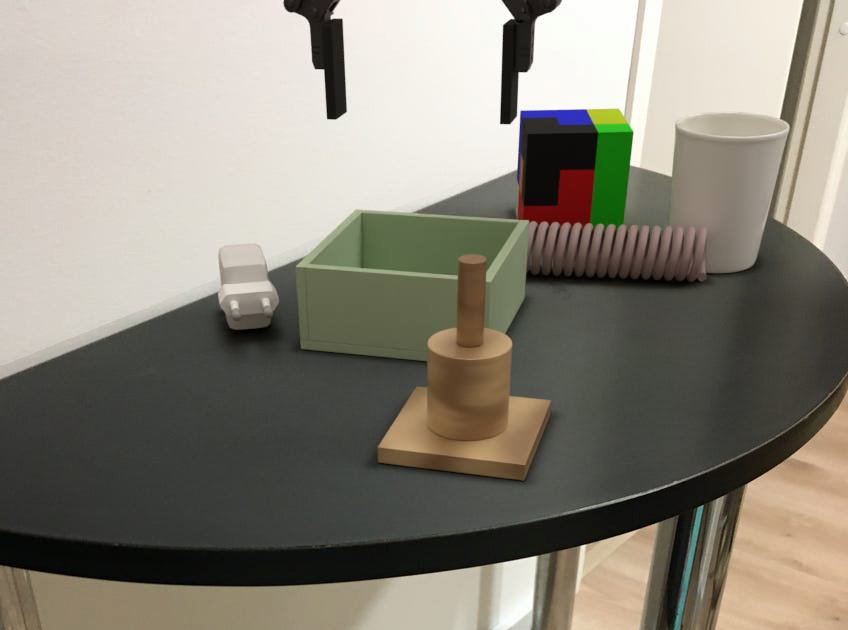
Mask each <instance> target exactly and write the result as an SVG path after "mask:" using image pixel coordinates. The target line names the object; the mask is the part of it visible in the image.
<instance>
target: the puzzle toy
mask: <svg viewBox="0 0 848 630" xmlns="http://www.w3.org/2000/svg"><path fill="white" fill-rule="evenodd" d="M519 113H520V114H519V132H518V133H519V134H518V150H517V151H518V152H517V168H516V169H517V170H516V190H515V207H514V212H515V217H516V220H529V223H530V222H532V221H535V222H536V223H537V224H538V226H539V225H540V224H541V223H542V222H547V223H548V224H549V227H550V226H551V224H552V223H554V222H558V223H559V224H560V227H562V225H563V224H564V223H566V222H567V223H570V224H571V227H572V228H573V226H574V224H576V223H580V224H581V225H582V227H583V229H584V226H585V225H586V224H588V223H591V224H592V225H593V227H594V230H595V227H596V226H597V225H598V224H603V225H604V227H605V232H606V229H607V227H608V225H610V224H614V225H615V227H616V235H617V230H618V228H619V226H620V225H622V224H623V225H625V224H624V222H625V216H626V215H625V214H626V205H627V197H628V195H627V194H628V187H629V179H630V168H631V160H632V150H633V141H634V140H633V139H634V133H635V132H634V130H633V129H632V127H631V125H630V123H629V122H628V121H627V119H626V118H625V116H624V114H623V113H622V112H621V109H620V108H583V109H581V108H580V109H576V108H575V109H538V110H537V109H536V110H535V109H532V110H531V109H529V110H520V111H519Z"/></svg>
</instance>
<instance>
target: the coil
mask: <svg viewBox="0 0 848 630" xmlns="http://www.w3.org/2000/svg"><path fill="white" fill-rule="evenodd" d="M662 230H663V233H662ZM684 231H685V230H684V228H683V227H680V226H679V227H677V229H676V231H675V235H674V241H673V229H672V227H671V226H668V225H667V226H665V228H664V229H662V227H661V226H660V225H655V226H653V228H652V230H651V227H650V226H649V225H647V224H645V225H642V226H641V228H640V229H639V226H638V225H637V224H632V225H630V227H629V229H628V226H627V225H626V224H622V225H620V226H619V228H618V230H617V235H616V227H615V225H614V224H610V225H608V227H607V229H606V232H605V227H604V225H603V224H598V225H597V226H596V227H595V230H594V227H593V225H592V224H591V223H588V224H586V225H585V226H584V229H583V227H582V225H581V224H580V223H576V224H574V226H573V228H572V227H571V224H570V223H567V222H566V223H564V224H563V225H562V227H560V224H559V223H558V222H554V223H552V224H551V226H550V227H549V224H548V223H547V222H542V223H541V224H540V225H539V226H538V224H537V223H536V222H535V221H532V222H530V223H529V233H528V250H527V266H526V275H527V273H529V270H530V272H531V274H532V275H533V276H536V275H538V274H539V273H540V269H541V273H542V274H543V276H548V275H550V273H551V269H552V274H553V276H556V277H558V276H560V275H561V274H562V270H563V275H564V276H565V277H571V276H572V274H573V271H574V275H575V277H578V278H580V277H582V276H583V275H584V273H585V276H587V278H593V277H594V275H595V273H596V276H597V277H598V278H599V279H602V278H604V277H605V276H606V275H607V277H608V278H610V279H614V278H616V277H617V276H618V277H619V278H621V279H623V280H624V279H627V277H628V276H629V277H630V278H631V279H632V280H637V279H639V277H640V276H641V278H642V280H645V281H646V280H649V279H650V278H651V277H652V279H653V280H654V281H660V280H661V279H662V278H663V279H664V280H665V281H667V282H669V281H672V280H673V279H675V280H676V281H677V282H682V281H683V280H685V279H686V280H687V281H688V282H690V283H691V282H694V281H696V279H697V280H698V281H699V282H704V281H706V280H707V273H706V268H705V263H706V244H707V233H708V230H707V228H705V227H702V228H700V230H699V233H698V238H697V244H696V249H695V238H696V229H695V228H694V227H690V228H688V230H687V234H686V239H685V245H684ZM672 242H673V246H672ZM683 247H684V250H683ZM694 253H695V254H694Z"/></svg>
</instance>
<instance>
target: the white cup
mask: <svg viewBox="0 0 848 630" xmlns="http://www.w3.org/2000/svg"><path fill="white" fill-rule="evenodd" d="M790 130H791V127H790V124H789V123H788V122H787V121H786V120H784V119H781V118H778V117H775V116H771V115H767V114H762V113H755V112H754V113H753V112H743V111H709V112H708V111H707V112H699V113H693V114H688V115H685V116H681V117H680V118H678V119H677V120H676V121H675V124H674V144H673V157H672V170H671V183H670V196H669V210H668V220H667V221H668V222H667V226H671V227H672V229H673V241H674V235H675V231H676V229H677V227H679V226H680V227H683V228H684V230H685V231H684V245H685V239H686V234H687V230H688V228H690V227H694V228H695V229H696V238H695V249H696V244H697V238H698V233H699V230H700V228H702V227H705V228H707V230H708V233H707V244H706V263H705V268H706V274H731V273H737V272H742V271H745V270H748V269H750V268H752V267H753V266H754V265H755V263H756V261H757V259H758V255H759V252H760V248H761V245H762V240H763V237H764V232H765V229H766V228H765V227H766V223H767V219H768V215H769V211H770V208H771V204H772V199H773V196H774V191H775V187H776V183H777V179H778V174H779V171H780V167H781V163H782V158H783V155H784V150H785V146H786V142H787V138H788V135H789V133H790ZM672 246H673V242H672ZM683 250H684V247H683ZM694 254H695V253H694Z"/></svg>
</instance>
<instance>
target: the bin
mask: <svg viewBox="0 0 848 630" xmlns="http://www.w3.org/2000/svg"><path fill="white" fill-rule="evenodd" d="M528 233H529V220H517V219H513V218H498V217H496V218H495V217H483V216H482V217H480V216H467V215H450V214H448V215H447V214H433V213H420V212H419V213H418V212H405V211H404V212H403V211H402V212H401V211H387V210H386V211H385V210H370V209H360V208H359V209H358V208H357V209H354V210H353V211H352V212H351V213H350V214H349V215H348V216H347V217H346V218H345V219H344V220H343V221H342V222H341V223H340V224H339V225H338V226H337V227H335V228H334V229H333V230H332V231H331V232H330V233H329V234H328V235H327V236H326V237H325V238H323V240H322V241H320V243H319V244H317V246H315V247H314V248H313V249H312V250H311V251H310V252H309V253H308V254H307V255H306V256H304V258H303V259H302V260H301V261H299V262H298V263H297V264H296V265H295V278H296V279H295V280H296V281H295V282H296V295H297V296H296V297H297V309H298V311H297V312H298V326H299V341H300V342H299V343H300V349H301V350H308V351H318V352H326V353H327V352H328V353H338V354H347V355H349V354H350V355H359V356H369V357H379V358H389V359H398V360H399V359H400V360H410V361H420V362H421V361H422V362H427V343H428V340H429V338H430V337H431V336H433V335H434V334H436V333H438V332H440V331H443V330H446V329H451V328H457V285H458V259H459V257H461V256H463V255H468V254H477V255H482V256H484V257H486V259H487V265H486V291H485V317H484V328H488V329H493V330H496V331H499V332H502V333H504V334H505V335H506V334H507V331H508V330H509V328H510V326H511V324H512V322H513V321H514V318H515V316H516V315H517V313H518V311H519V310H520V308H521V305H522V304H523V302H524V300H525V299H526V280H527V274H526V266H527V250H528Z"/></svg>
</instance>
